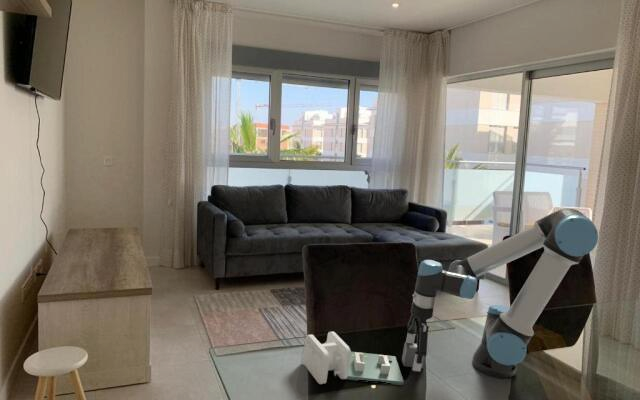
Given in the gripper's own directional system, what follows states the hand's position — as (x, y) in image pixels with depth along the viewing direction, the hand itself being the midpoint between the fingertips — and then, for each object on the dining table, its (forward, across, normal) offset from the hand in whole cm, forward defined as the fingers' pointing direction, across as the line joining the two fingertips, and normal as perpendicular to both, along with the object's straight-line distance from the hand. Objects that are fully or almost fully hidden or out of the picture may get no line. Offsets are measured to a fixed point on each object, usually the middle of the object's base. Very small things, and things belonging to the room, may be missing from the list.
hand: (412, 360), depth 174 cm
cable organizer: (+2, +12, -32) cm, 34 cm away
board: (+2, +6, -16) cm, 17 cm away
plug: (+2, 0, 0) cm, 2 cm away
